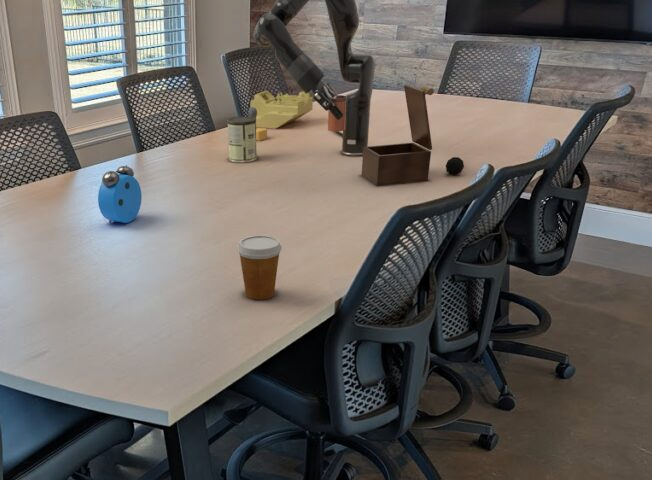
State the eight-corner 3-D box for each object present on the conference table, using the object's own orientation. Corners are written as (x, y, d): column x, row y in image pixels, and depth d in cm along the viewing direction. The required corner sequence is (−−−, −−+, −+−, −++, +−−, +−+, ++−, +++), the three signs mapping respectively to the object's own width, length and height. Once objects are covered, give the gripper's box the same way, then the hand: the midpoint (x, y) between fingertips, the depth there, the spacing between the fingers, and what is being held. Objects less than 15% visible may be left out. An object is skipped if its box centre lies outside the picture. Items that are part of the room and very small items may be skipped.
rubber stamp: (239, 138, 293) (238, 107, 287) (247, 135, 297) (246, 104, 291) (259, 140, 288) (258, 109, 281) (267, 138, 292) (267, 106, 285)
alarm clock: (127, 213, 213) (122, 162, 205) (144, 215, 210) (139, 164, 203) (100, 226, 203) (93, 173, 196) (118, 229, 201) (111, 175, 193)
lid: (422, 91, 215) (439, 85, 216) (403, 85, 227) (420, 79, 227) (430, 150, 225) (446, 144, 225) (412, 141, 236) (427, 135, 237)
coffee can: (235, 155, 269) (234, 115, 262) (261, 156, 265) (260, 116, 258) (224, 161, 261) (222, 121, 254) (250, 163, 257) (249, 122, 250)
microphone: (451, 170, 251) (447, 178, 234) (448, 153, 249) (443, 160, 232) (468, 166, 249) (464, 173, 232) (465, 149, 247) (461, 155, 230)
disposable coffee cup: (253, 282, 165) (252, 232, 159) (289, 290, 160) (289, 239, 154) (230, 297, 159) (228, 245, 152) (266, 306, 154) (266, 253, 148)
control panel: (244, 92, 304) (265, 80, 317) (242, 129, 314) (262, 116, 328) (296, 104, 296) (315, 91, 309) (291, 142, 306) (310, 128, 320)
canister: (325, 128, 223) (326, 96, 218) (341, 127, 224) (343, 94, 219) (330, 132, 218) (332, 99, 213) (347, 130, 219) (349, 97, 214)
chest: (376, 186, 228) (378, 156, 223) (361, 175, 239) (363, 146, 234) (427, 181, 230) (431, 151, 226) (410, 170, 241) (413, 142, 237)
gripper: (308, 67, 207) (348, 111, 210) (319, 59, 219) (356, 102, 222) (290, 86, 212) (329, 129, 215) (301, 78, 223) (338, 119, 226)
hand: (342, 115), depth 218 cm, fingers closed on canister, 5 cm apart
